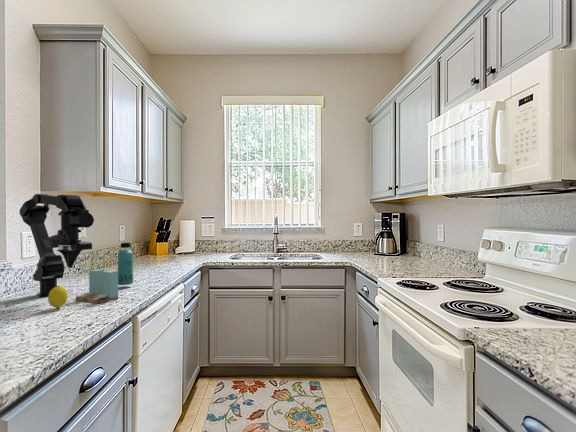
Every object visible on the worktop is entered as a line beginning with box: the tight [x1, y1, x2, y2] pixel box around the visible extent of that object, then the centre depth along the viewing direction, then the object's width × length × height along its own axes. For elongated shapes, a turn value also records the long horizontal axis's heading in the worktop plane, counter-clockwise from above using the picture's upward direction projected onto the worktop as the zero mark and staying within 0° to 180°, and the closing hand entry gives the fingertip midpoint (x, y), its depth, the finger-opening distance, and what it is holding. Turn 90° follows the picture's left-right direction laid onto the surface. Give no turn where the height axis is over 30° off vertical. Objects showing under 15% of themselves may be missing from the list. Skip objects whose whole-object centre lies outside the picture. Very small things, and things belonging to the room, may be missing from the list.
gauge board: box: [75, 294, 119, 304], centre depth 127 cm, size 14×8×1 cm, turn 67°
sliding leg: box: [83, 268, 105, 296], centre depth 129 cm, size 4×6×10 cm, turn 157°
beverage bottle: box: [117, 242, 134, 286], centre depth 149 cm, size 6×7×20 cm
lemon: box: [47, 285, 69, 310], centre depth 114 cm, size 6×6×8 cm
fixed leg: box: [99, 270, 119, 298], centre depth 125 cm, size 4×6×10 cm, turn 157°
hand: (69, 267), depth 128 cm, fingers closed
